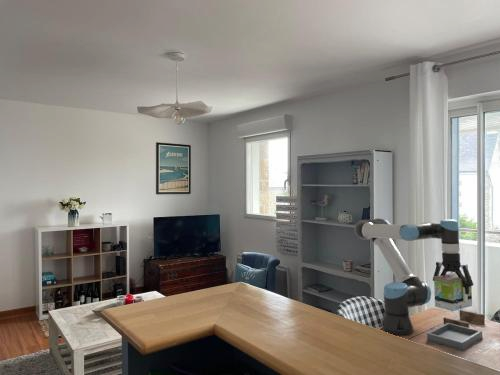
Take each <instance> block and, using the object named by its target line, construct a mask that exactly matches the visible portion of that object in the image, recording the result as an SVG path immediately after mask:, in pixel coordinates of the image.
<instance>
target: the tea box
mask: <svg viewBox="0 0 500 375" xmlns="http://www.w3.org/2000/svg"><path fill="white" fill-rule="evenodd" d="M463 276H464V277H465V275H464V274H463ZM433 277H434V281H433V284H434V285H433V287H434V288H433V290H434V292H433V293H434V307H435V308H438V309H442V310H446V311H450V312H456V311H459V310H463V309H466V308H471V307H472V306H473V297H472V296H473V295H472V294H473V293H472V286H471V287H469V294H467V295H468V301H463V287H464V285H463V283H462V279H461V278H459V277H458V275H457V274H456V273H455V272H448V273H446V275H441V274H439V276H434V275H433ZM470 277H471V278H472V276H471V275H470ZM465 279H466V277H465ZM466 281H467V280H466Z"/></svg>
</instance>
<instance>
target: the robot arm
mask: <svg viewBox="0 0 500 375" xmlns="http://www.w3.org/2000/svg"><path fill="white" fill-rule="evenodd" d="M458 223H459V222H458V220H456V219H442V220H440V223H435V222H434V223H433V222H422V223H418V224H417V223H416V224H392V223H390V222H389V221H388V220H387V219H385V218H375V219H374V218H373V219H372V218H371V219H362V220H361V219H360V220H359V221H357V222H356V223H355V225H354V233H355V235H356V237H358V238H359V239H360V240H364V241H365V240H367V241H368V240H371V242H372V243H373V244H374V245H375V246H377V247H378V248H379V250H380V253H382V255H383V257H384V259H385V260H386V262H387V264H388V266H389V268H390V269H391V270H392V273H393V274H394V276H395V278H396V280H397V281H398V282H397V281H396V282H390V283H388V284H385V286H384V287H383V302H384V315H383V319H382V322H381V330H382V331H383V330H384V331H383V332H385V331H386V332H385V333H387V332H389V333H388V334H390V333H391V334H390V335H394V336H408V335H412V334H413V333H414V325H413V323H412V321H411V317H410V313H409V312H410V310H409V308H414V307H419V306H423V305H426V304H428V303H429V302H430V301H431V298H432V297H431V296H432V290H431V288H430V285H429V284H428V283H426V282H424V281H422V280H420V278H419V276H418V275H415V274H414V273H413V272H412V271H411V269H410V267H409V266H408V264H407V262H406V261H405V258H404V257H403V256H402V254H401V252H400V251H399V249H398V247H397V245H396V244H395V242H394V240H404V241H405V242H407V241H408V242H414V241H418V240H419V241H420V240H427V239H439V240H440V241H441V252H442V253H441V257H442V261H437V262H435V270H434V272H433V273H434V274H433V277H432V282H434V276H439V275H446V274H448V273H456V274H457V275H458V277H459V278H461V279H462V283H463V285H464V287H463V301H468V295H467V294H469V287H472V286H474V282H473V280H472V276H471V274H470V272H469V270H468V269H469V266H468V264H463V263H461V253H460V241H459V238H460V236H459V234H460V233H459V228H460V227H459V224H458ZM442 267H443V269H442V272H440V271H441V268H442ZM460 268H461V269H462V270H461V269H460ZM462 272H463V273H462ZM463 275H465V277H466V279H465V277H464V276H463ZM470 276H471V277H470ZM466 280H467V281H466ZM395 334H396V335H395Z"/></svg>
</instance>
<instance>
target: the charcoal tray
mask: <svg viewBox="0 0 500 375" xmlns="http://www.w3.org/2000/svg"><path fill="white" fill-rule="evenodd" d="M482 339H483V331H482V330H479V329H475V328H471V327H469V328H467V327H463V326H459V325H455V324H451V323H446V324H444V323H443V325H441V326H438V327H437V328H435V329H432V330H431V331H429V332H426V341H428V342H431V343H435V344H438V345H440V346H445V347H448V348H451V349H456V350H458V351H461V352H464V351H465V350H466V349H468V348H470V347H471V346H473V345H474V344H476V343H478V342H479V341H481V340H482Z"/></svg>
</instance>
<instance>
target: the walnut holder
mask: <svg viewBox="0 0 500 375" xmlns="http://www.w3.org/2000/svg"><path fill="white" fill-rule="evenodd" d="M458 311H459V312H458V313H459V319H454V318H450V317H446V316H444V317H442V319H443V325H444V324H446V323H451V324H455V325H459V326H463V327H467V328H470V323H474V322H475V323H474V324H479V325H485V324H486V322H485V314H483V313H478V312H473V311H468V310H465V309H464V310H463V309H459V310H458Z"/></svg>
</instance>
